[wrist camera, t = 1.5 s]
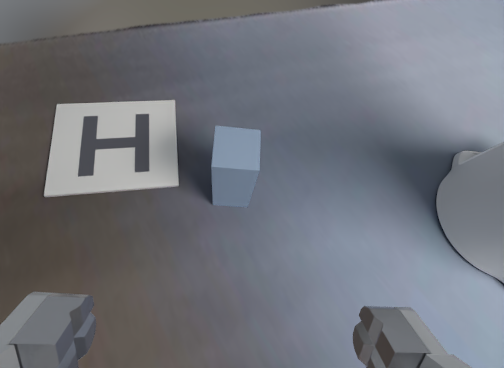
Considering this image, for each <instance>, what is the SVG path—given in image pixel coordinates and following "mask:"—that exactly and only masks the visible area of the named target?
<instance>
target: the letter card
mask: <svg viewBox="0 0 504 368" xmlns="http://www.w3.org/2000/svg"><path fill="white" fill-rule="evenodd" d="M178 186H179V177H178V155H177V133H176V110H175V100H163V101H134V102H105V103H76V104H57V108H56V115H55V121H54V128H53V135H52V142H51V149H50V156H49V163H48V170H47V177H46V184H45V191H44V197H56V196H68V195H80V194H93V193H105V192H117V191H129V190H141V189H153V188H166V187H178Z"/></svg>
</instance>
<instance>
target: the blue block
mask: <svg viewBox="0 0 504 368" xmlns="http://www.w3.org/2000/svg"><path fill="white" fill-rule="evenodd" d="M260 142H261V130H256V129H245V128H235V127H225V126H215V136H214V146H213V155H212V165H211V171H212V196H213V205H221V206H235V207H248V205H249V202H250V198H251V195H252V192H253V189H254V186H255V183H256V180H257V177H258V174H259V171H260Z"/></svg>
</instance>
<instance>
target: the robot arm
mask: <svg viewBox="0 0 504 368" xmlns="http://www.w3.org/2000/svg"><path fill="white" fill-rule="evenodd" d="M436 205H437V213H438V217H439V220H440V223H441V226H442V228H443V230H444V232H445V234H446V236H447V238H448V239H449V241H450V242H451V244H452V245H453V246H454V248H455V249H456V250H457V251H458V252H459V253H460V254H461V255H462V256H463V257H464V258H465V259H466V260H467V261H468V262H470V263H471V264H472V265H474V266H475V267H476V268H478V269H480V270H481V271H483V272H485V273H487V274H489V275H491V276H493V277H495V278H497V279H499V280H500V281H501V282H503V283H504V142H502V143H500V144H498V145H496V146H494V147H492V148H490V149H488V150H486V151H484V152H475V151H462V152H460V153H457V154H456V155H455V156H454V159H453V164H452V169H451V171H450V172H449V174H448V175H447V176H446V177H445V178H444V179H443V181H442V182H441V184H440V186H439V189H438V192H437V199H436ZM93 306H94V302H93V296H90V295H80V294H65V293H44V292H33V293H31V294H29V295H27V296H26V297H25V298H24V300H23V301H22V302H21V303H20V304H19V305H18V306H17V307H16V308H15V309H14V311H13V312H12V313H11V314H10V315H9V316H8V317H7V318H6V319H5V320H4V321H3V323H2V324H1V325H0V368H78V360H79V359H80V358H82V357H83V356H84V355H86V354H87V352H88V350H89V348H90V346H91V344H92V341H93V338H94V335H95V329H96V319H95V316H94V315H93V314H92V313H91V310H92V308H93ZM359 317H360V319H361V320H362V321H361V322H359V323H358V324H357V325H356V326H355V328H354V332H353V345H354V349H355V352H356V354H357V357H358V359H359V360H360V361H361V362H362V363H363V364H365V365H366V368H472V367H470V366H469V365H467V364H466V363H464V362H463V361H462V360H460V359H459V358H457V357H456V356H454V355H449V354H448V353H447V352H446V351H445V350H444V348H443V347H442V346H441V344H440V343H439V342H438V340H437V339H436V338H435V337H434V335H433V334H432V333H431V331H430V330H429V329H428V327H427V326H426V325H425V323H424V322H423V321H422V320H421V318H420V317H419V316H418V314H417V313H416V312H415V311H414V310H413V309H411V308H410V307H375V306H364V307H363V308H362V309H361V311H360V314H359Z"/></svg>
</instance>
